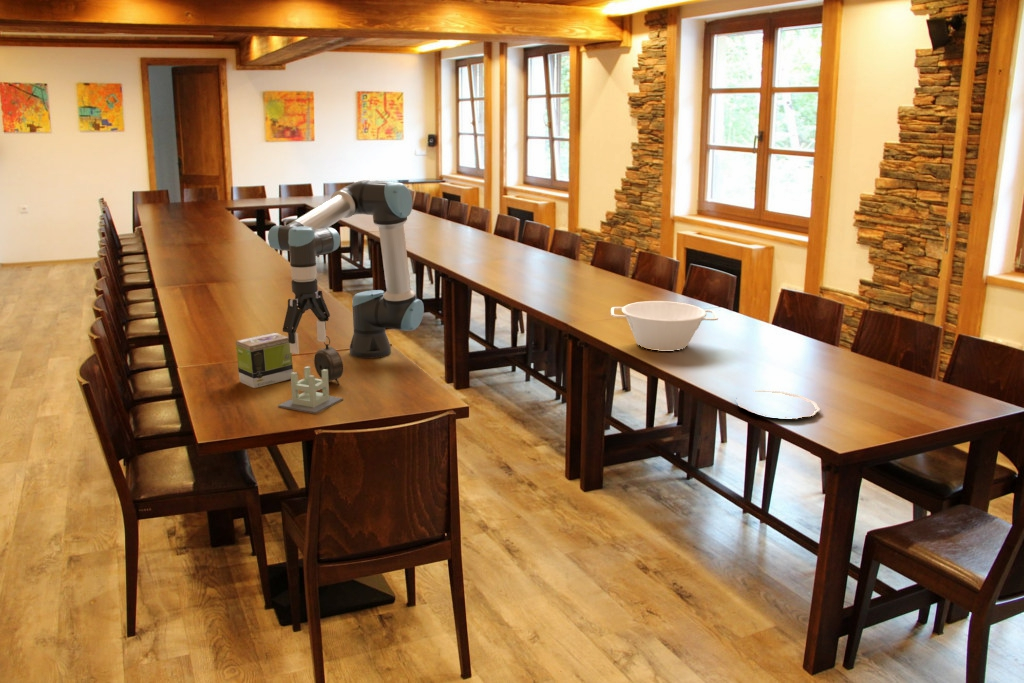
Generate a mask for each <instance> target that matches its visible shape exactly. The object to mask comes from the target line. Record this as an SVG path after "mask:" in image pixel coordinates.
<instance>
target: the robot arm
mask: <svg viewBox="0 0 1024 683" xmlns="http://www.w3.org/2000/svg"><path fill="white" fill-rule="evenodd" d="M412 207H413V197H412V193H411V191H410V189H409V188H408V186H406V185H405V183H402V182H396V181H392V180H391V181H387V180H384V181H383V180H368V179H367V180H364V179H363V180H358V181H356V182H352V183H350V184H348V185H346V186H343V187H341V188H339V189H338V190H336V191H335V192H333V193H332V194H331V197H330V198H329V199H327V200H326V201H323V203H320V204H319V205H317V206H316V207H314V208H313V209H311V210H309V211H307V212H305V214H302V215H301V216H299V217H297V218H296V219H294V220H293V221H291V222H289V223H288V224H285V225H282V224H279V225H273V226H271V228H270V229H269V230H268V233H267V241H268V245H269V246H270V247H271V248H272V249H274V250H279V251H281V252H283V251H288V252H289V260H290V261H289V262H290V276H291V278H290V279H292V280H291V282H290V283H291V292H292V293H294V298H288V300H287V309H286V314H285V317H284V322H283V326H282V332H283V333H287V337H288V338H289V343H290V353H292V354H294V355H295V354H296V355H299V354H300V349H299V348H300V346H299V344H300V343H299V333H298V332H297V330H298V326H299V324H300V322H301V320H302V318H303V314H305V313H306V311H308V310H311V312H312V313H313V314H314V316H315V317H316V318H317V320H316V335H317V336H316V338H317V342H321V343H324V342H325V343H326V342H327V337H326V336H327V334H326V333H327V331H326V330H327V325H326V323H327V322H329V318H330V317H331V314H330V311H329V310H328V309H329V308H328V307H327V306H328V305H327V304H326V302H325V299H324V296H323V291H322V290H319V288H318V279H317V277H318V271H317V268H318V267H317V257H318V256H322V255H325V254H326V255H327V254H330V253H332V252H334V251H336V250H338V249H339V247H340V245H341V236H340V234H339V232H338V231H337V230H336V228H333V227H332V225H334V224H336V223H337V222H339V221H341V220H342V219H348V218H350V217H352V216H355V215H368V216H372V220H373V224H374V225H375V226H376V227H377V228H378V232H379V233H378V234H379V241H380V248H381V256H382V265H383V271H384V272H383V273H384V274H383V275H384V280H385V288H386V291H384V290H382V289H377V290H376V289H373V290H365V291H360V292H358V293H356V294H354V295H353V297H352V303H351V304H352V306H351V307H352V321H353V322H352V324H353V333H352V337H351V341H350V345H349V356H352V357H353V358H361V359H376V358H384V357H385V356H389V355H390V354H391V353H392V348H391V347H392V346H391V344H390V341H389V338H388V335H387V332H386V329H389V330H391V329H392V330H397V331H403V332H404V331H407V332H412V331H414V330H416V329H418V328H419V326H420V324H421V322H422V320H423V318H424V312H425V307H424V302H423V301H422V300H421V299H419V298H417V295H416V294H417V293H416V291H415V290H414V289H413V288H412V286H411V279H410V270H409V261H408V253H407V251H408V250H407V245H406V244H407V243H406V237H405V236H406V235H405V234H406V233H405V226H404V224H406V222H407V221H408V217H409V216H410V215H411V213H412V212H413V211H412V210H413V209H412Z"/></svg>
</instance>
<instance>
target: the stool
mask: <svg viewBox="0 0 1024 683" xmlns="http://www.w3.org/2000/svg"><path fill="white" fill-rule="evenodd" d="M311 371H312V370H311V366H304V367H303V376H304V377H303V378H302V379H298V378H299V376H298V372H295V371H293V372H292V373H291V379H290V385H291V387H290V388H291V399H292V404H297V405H303V406H308V407H316V406H318V405H320V404H322V403H324V402H326V401H328V400H329V396H330V386H329V382H330V381H328V370H327V369H323V370H321V371H322V378H321V379H320V378H316V375H313V374H312V373H311ZM320 390H321V391H322V392H318V391H320ZM299 391H300V392H302V393H299Z"/></svg>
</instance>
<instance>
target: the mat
mask: <svg viewBox="0 0 1024 683" xmlns="http://www.w3.org/2000/svg"><path fill="white" fill-rule="evenodd" d="M342 401H344V399H343V397H339V396H334V395H333V396H332V395H329V400H328V401H326V402H324V403H322V404H320V405H318V406H316V407H308V406H303V405H297V404H292V398H291V399H289V400H286V401H284V402H282V403H280V404H278V406H277V407H278V408H281V409H286V410H287V409H288V410H292V411H293V410H294V411H296V412H297V411H298V412H303V413H307V414H308V413H309V414H314V415H317V414H319V413H320V412H321V413H322V412H323V411H325V410H326V409H328V408H330V407H332V406H334V405H336V404H338V403H340V402H342Z"/></svg>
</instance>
